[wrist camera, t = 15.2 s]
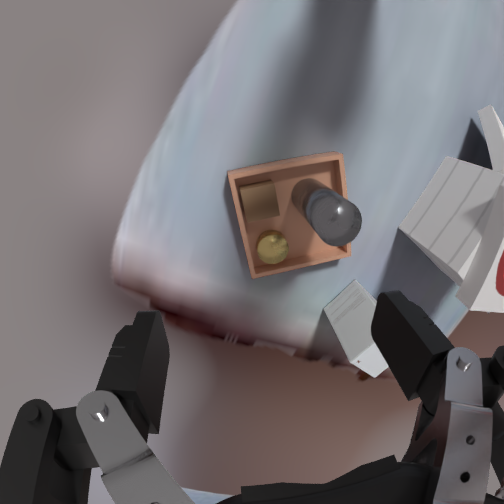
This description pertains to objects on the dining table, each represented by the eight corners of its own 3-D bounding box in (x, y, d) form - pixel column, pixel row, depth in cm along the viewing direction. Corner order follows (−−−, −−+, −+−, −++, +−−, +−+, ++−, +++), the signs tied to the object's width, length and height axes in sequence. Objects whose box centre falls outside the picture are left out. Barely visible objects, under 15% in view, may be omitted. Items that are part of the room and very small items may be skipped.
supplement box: (346, 328, 48) (373, 379, 37) (321, 308, 45) (348, 363, 34) (377, 300, 46) (412, 348, 35) (355, 277, 44) (392, 326, 32)
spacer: (288, 181, 35) (314, 205, 25) (323, 175, 35) (360, 196, 25) (294, 215, 37) (319, 250, 27) (327, 209, 37) (362, 241, 27)
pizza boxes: (510, 165, 37) (576, 192, 21) (436, 282, 46) (494, 339, 30) (468, 92, 31) (552, 102, 15) (380, 229, 40) (454, 293, 24)
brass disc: (258, 227, 37) (260, 233, 36) (288, 231, 38) (291, 237, 36) (253, 255, 39) (254, 262, 37) (282, 258, 40) (284, 265, 38)
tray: (227, 171, 35) (227, 175, 32) (333, 151, 35) (342, 154, 32) (249, 268, 41) (251, 279, 38) (343, 247, 41) (351, 255, 38)
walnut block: (239, 186, 35) (240, 190, 33) (270, 179, 35) (274, 183, 33) (245, 216, 37) (247, 222, 34) (276, 209, 37) (280, 215, 34)
